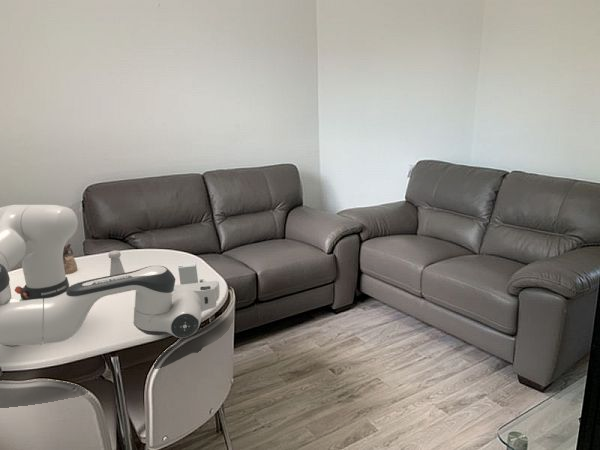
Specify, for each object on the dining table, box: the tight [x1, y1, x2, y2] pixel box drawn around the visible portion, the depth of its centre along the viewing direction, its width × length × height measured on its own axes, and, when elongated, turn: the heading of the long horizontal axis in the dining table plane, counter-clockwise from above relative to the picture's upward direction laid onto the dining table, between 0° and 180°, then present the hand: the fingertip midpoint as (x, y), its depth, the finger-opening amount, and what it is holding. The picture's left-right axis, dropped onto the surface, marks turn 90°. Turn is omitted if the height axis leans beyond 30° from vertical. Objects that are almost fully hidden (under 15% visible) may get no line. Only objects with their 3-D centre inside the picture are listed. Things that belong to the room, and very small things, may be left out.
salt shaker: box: [108, 250, 126, 276], centre depth 173 cm, size 6×6×13 cm
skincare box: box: [177, 261, 199, 285], centre depth 158 cm, size 6×4×12 cm
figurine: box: [63, 243, 78, 276], centre depth 187 cm, size 7×7×12 cm
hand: (187, 282), depth 146 cm, fingers open, 8 cm apart
